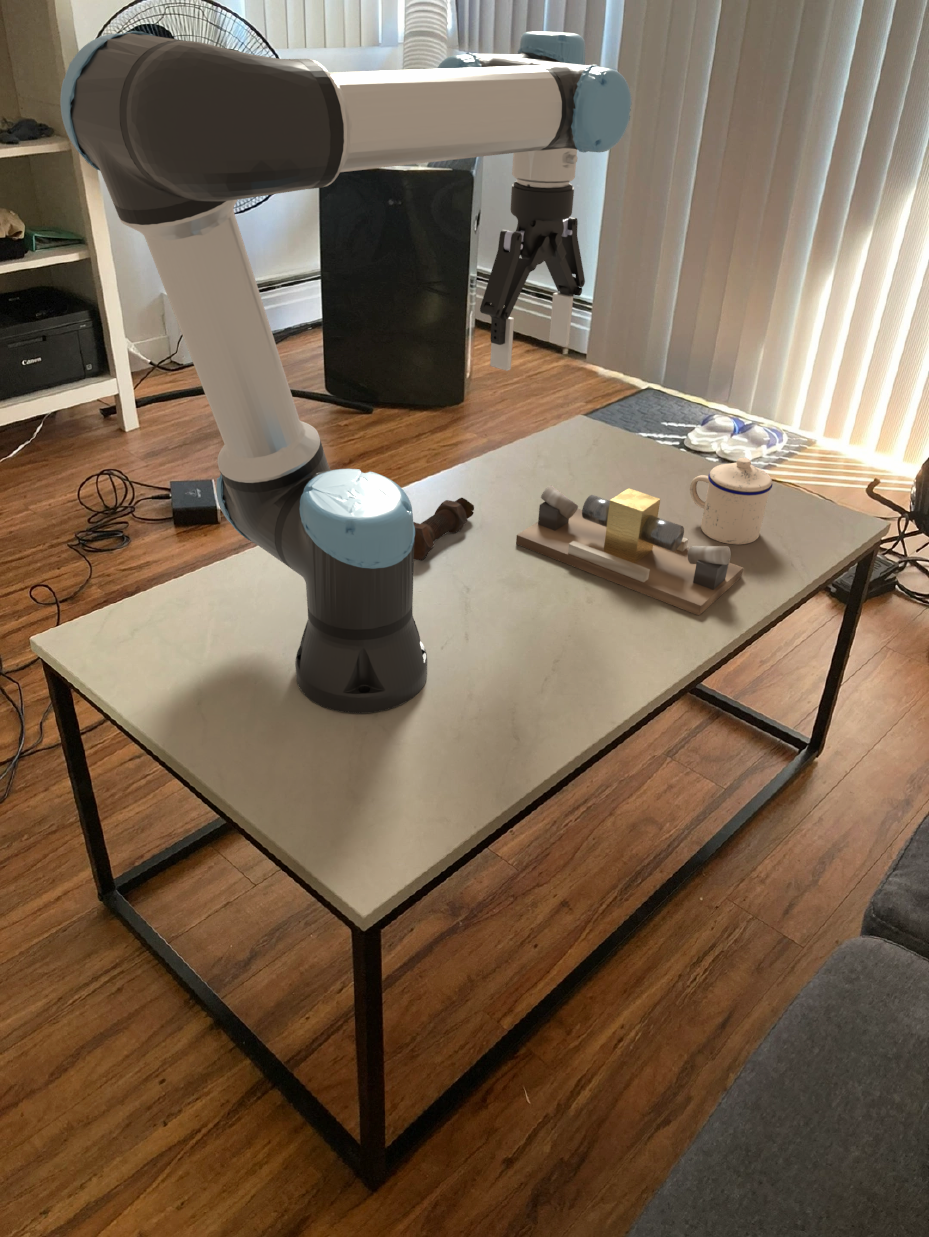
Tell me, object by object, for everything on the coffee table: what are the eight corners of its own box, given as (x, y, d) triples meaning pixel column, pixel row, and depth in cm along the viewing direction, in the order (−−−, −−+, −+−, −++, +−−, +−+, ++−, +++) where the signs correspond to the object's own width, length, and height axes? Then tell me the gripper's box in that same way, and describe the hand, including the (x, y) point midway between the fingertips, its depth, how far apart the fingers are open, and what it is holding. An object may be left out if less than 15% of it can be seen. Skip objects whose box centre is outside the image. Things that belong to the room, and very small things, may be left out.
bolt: (469, 530, 149) (414, 568, 138) (445, 508, 150) (389, 544, 139) (488, 505, 146) (433, 542, 134) (463, 482, 146) (407, 517, 135)
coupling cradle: (699, 615, 128) (708, 567, 124) (515, 543, 142) (518, 498, 138) (741, 577, 137) (751, 531, 133) (564, 513, 151) (568, 469, 147)
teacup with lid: (771, 531, 148) (787, 459, 142) (743, 552, 143) (759, 479, 136) (699, 506, 155) (712, 436, 148) (670, 525, 149) (682, 454, 142)
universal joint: (663, 574, 133) (672, 521, 129) (576, 541, 140) (581, 490, 136) (681, 560, 137) (690, 509, 132) (594, 529, 144) (600, 478, 139)
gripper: (508, 199, 108) (498, 386, 120) (622, 174, 125) (603, 340, 137) (454, 189, 112) (449, 371, 124) (572, 166, 129) (558, 328, 140)
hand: (530, 355), depth 130 cm, fingers open, 13 cm apart
